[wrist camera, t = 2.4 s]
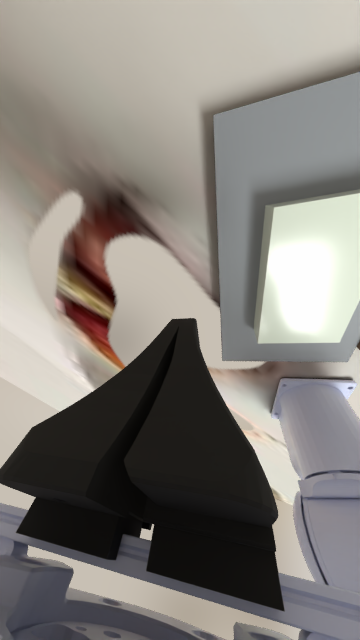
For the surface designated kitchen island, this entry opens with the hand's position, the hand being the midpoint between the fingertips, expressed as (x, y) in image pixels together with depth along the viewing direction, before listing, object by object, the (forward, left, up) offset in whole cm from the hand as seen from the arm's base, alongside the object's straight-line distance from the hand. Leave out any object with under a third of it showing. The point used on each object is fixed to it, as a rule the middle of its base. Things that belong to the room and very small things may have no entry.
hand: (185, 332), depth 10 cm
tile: (0, -8, -6) cm, 10 cm away
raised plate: (0, -8, -8) cm, 11 cm away
